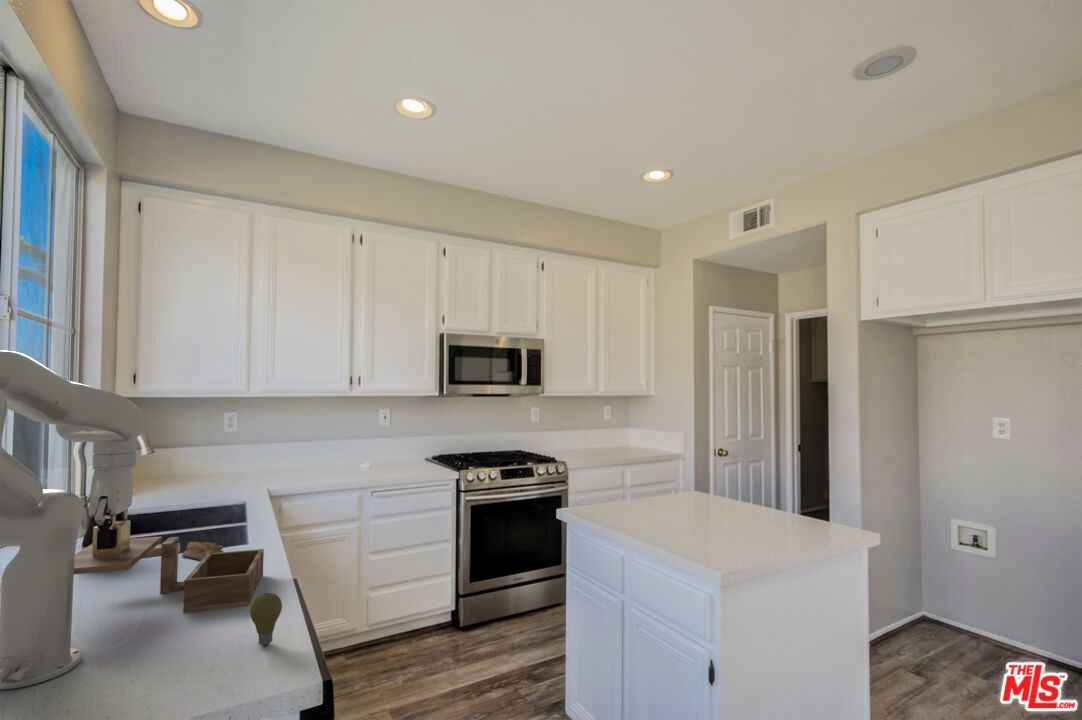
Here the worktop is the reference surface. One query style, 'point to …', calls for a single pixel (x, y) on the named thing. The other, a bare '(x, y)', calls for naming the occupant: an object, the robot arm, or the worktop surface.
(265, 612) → the light bulb
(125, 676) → the worktop surface
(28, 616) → the robot arm
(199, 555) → the wooden fragment
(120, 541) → the lid
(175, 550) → the wooden key
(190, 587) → the wooden box
